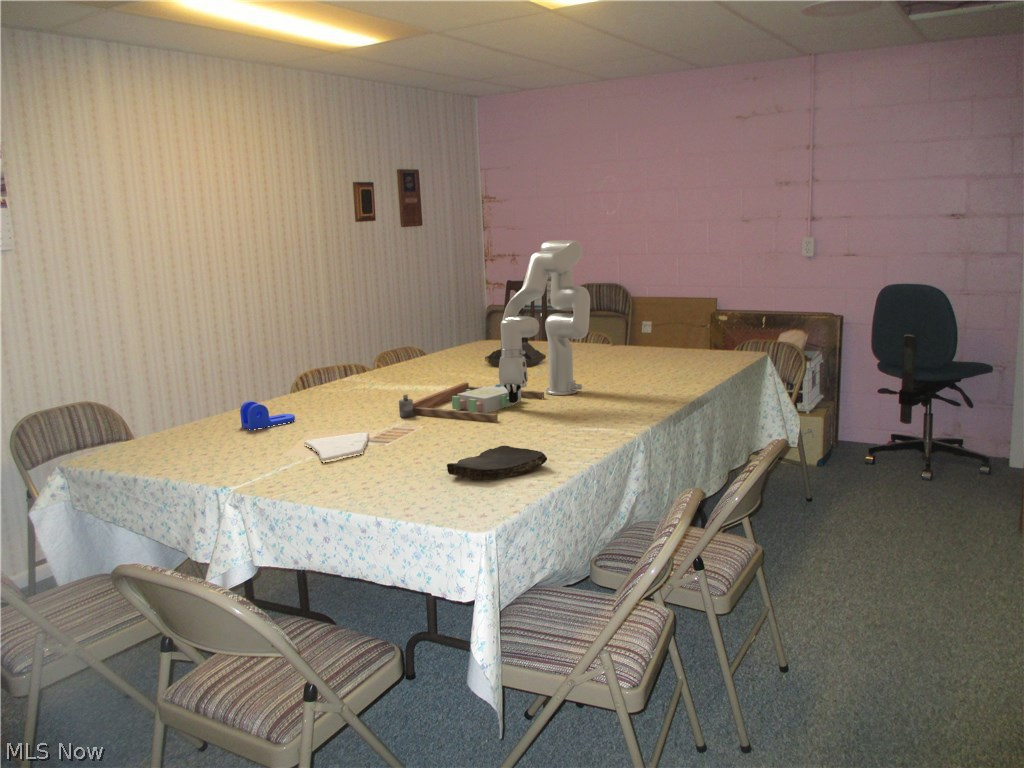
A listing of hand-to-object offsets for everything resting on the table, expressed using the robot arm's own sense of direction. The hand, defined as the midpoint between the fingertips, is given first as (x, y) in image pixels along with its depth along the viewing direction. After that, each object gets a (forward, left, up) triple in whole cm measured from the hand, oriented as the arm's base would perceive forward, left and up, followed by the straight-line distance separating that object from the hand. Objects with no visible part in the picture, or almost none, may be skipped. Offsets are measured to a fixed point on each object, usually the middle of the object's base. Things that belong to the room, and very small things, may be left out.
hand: (513, 402), depth 304 cm
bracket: (+73, +49, -3) cm, 88 cm away
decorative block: (+12, -1, -3) cm, 12 cm away
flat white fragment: (+26, +66, -3) cm, 71 cm away
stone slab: (-30, +69, -3) cm, 75 cm away
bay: (+16, +3, -3) cm, 16 cm away
